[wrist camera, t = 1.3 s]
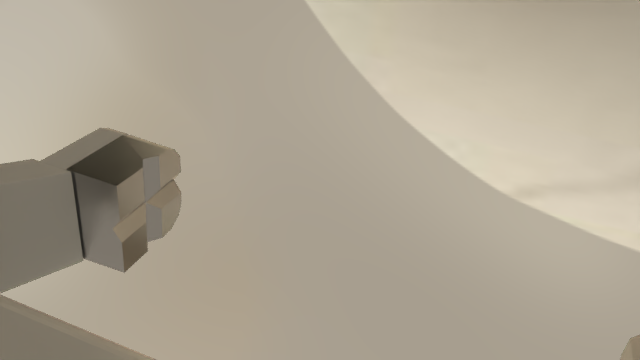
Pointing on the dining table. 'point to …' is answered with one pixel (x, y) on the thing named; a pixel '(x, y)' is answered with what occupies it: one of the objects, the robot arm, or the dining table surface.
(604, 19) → the dining table surface
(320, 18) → the dining table surface
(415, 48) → the dining table surface
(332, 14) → the dining table surface
